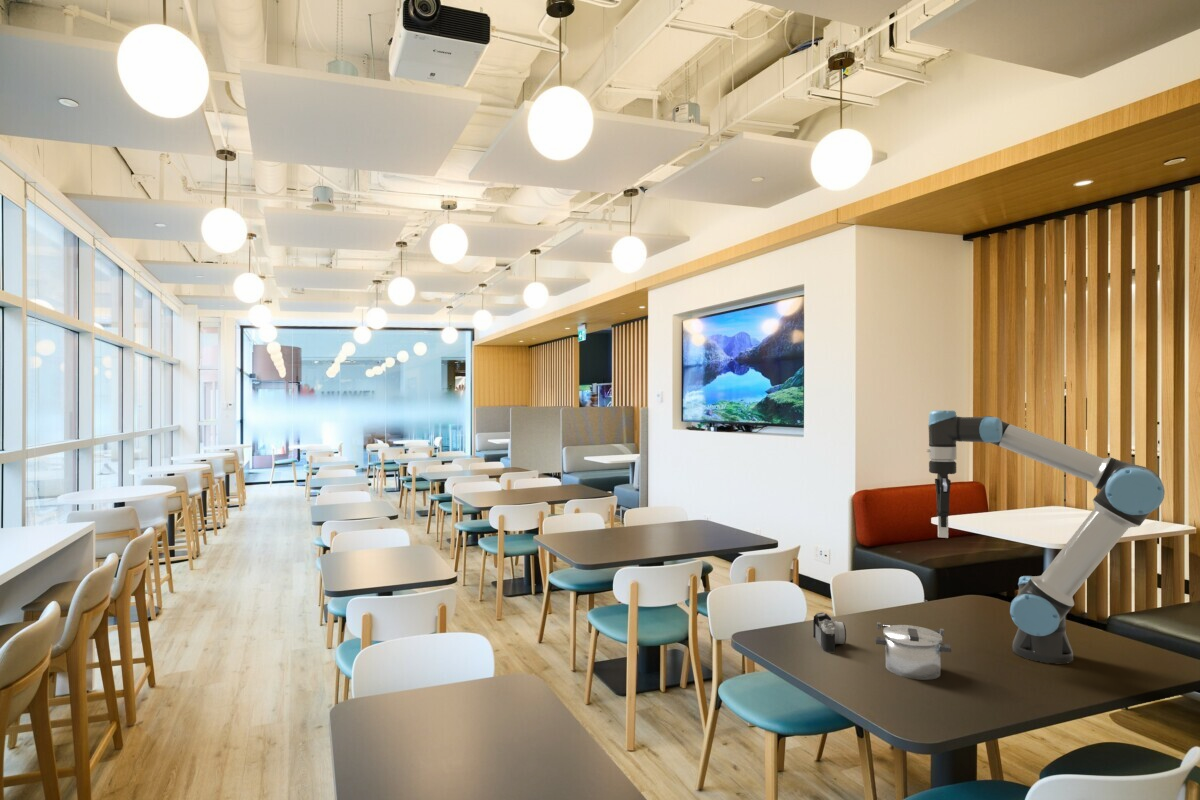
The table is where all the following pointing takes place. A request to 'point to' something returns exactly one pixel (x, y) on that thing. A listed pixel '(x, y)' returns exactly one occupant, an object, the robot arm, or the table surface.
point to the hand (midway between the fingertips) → (943, 537)
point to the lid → (912, 635)
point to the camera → (828, 632)
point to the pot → (913, 658)
